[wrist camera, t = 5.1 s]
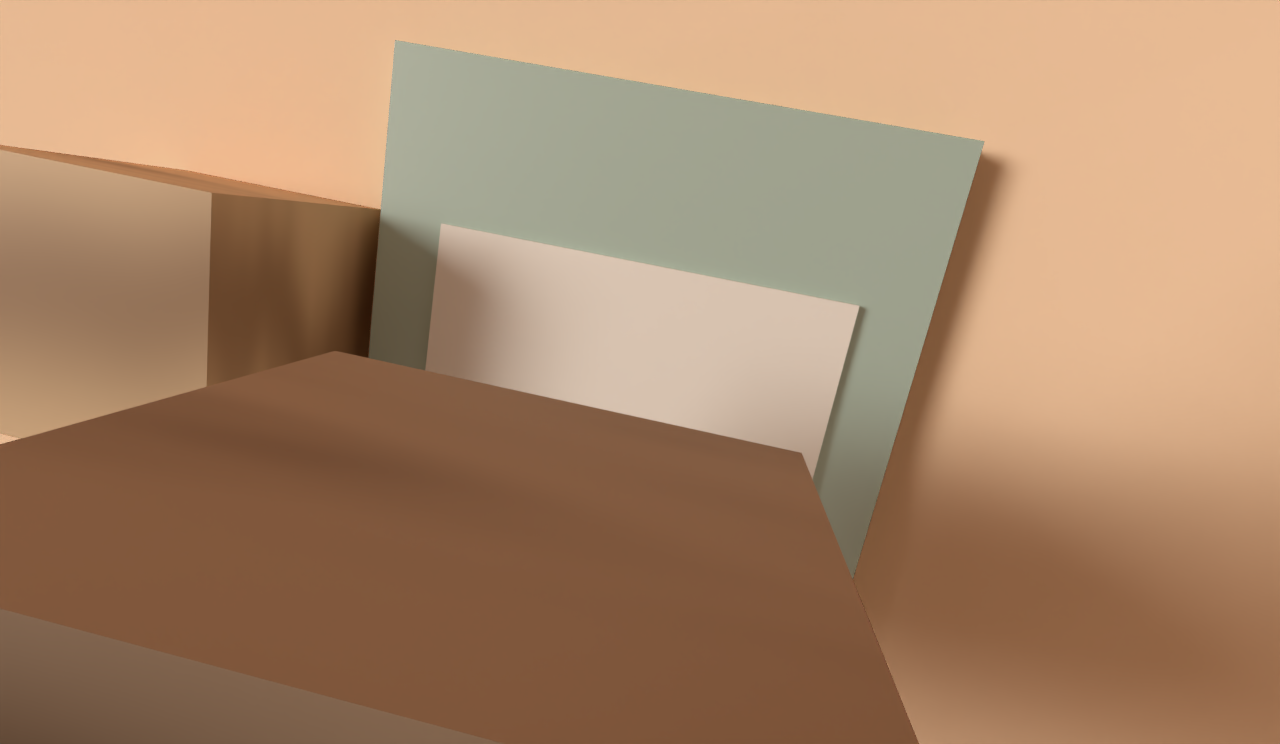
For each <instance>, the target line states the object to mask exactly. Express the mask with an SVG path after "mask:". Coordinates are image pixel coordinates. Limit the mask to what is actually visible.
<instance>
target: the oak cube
mask: <svg viewBox="0 0 1280 744" xmlns="http://www.w3.org/2000/svg"><path fill="white" fill-rule="evenodd" d="M380 212H381V210H380V209H375V208H370V207H365V206H361V205H356V204H351V203H346V202H341V201H336V200H331V199H326V198H321V197H316V196H311V195H306V194H301V193H296V192H291V191H286V190H281V189H276V188H271V187H266V186H261V185H256V184H251V183H246V182H241V181H236V180H231V179H226V178H221V177H216V176H211V175H207V174H202V173H197V172H192V171H186V170H179V169H172V168H164V167H157V166H150V165H142V164H135V163H128V162H120V161H113V160H106V159H98V158H91V157H84V156H76V155H69V154H62V153H54V152H47V151H40V150H32V149H25V148H18V147H10V146H3V145H0V434H4V435H8V436H12V437H16V438H20V439H22V438H25V437H29V436H32V435H36V434H40V433H43V432H47V431H50V430H54V429H57V428H61V427H65V426H68V425H72V424H75V423H79V422H82V421H86V420H90V419H93V418H97V417H100V416H104V415H107V414H111V413H115V412H118V411H122V410H125V409H129V408H132V407H136V406H140V405H143V404H147V403H150V402H154V401H157V400H161V399H165V398H168V397H172V396H175V395H179V394H182V393H186V392H190V391H193V390H197V389H200V388H204V387H208V386H211V385H215V384H218V383H222V382H225V381H229V380H233V379H236V378H240V377H243V376H247V375H250V374H254V373H258V372H261V371H265V370H268V369H272V368H275V367H279V366H283V365H286V364H290V363H293V362H297V361H300V360H304V359H308V358H311V357H315V356H318V355H322V354H325V353H329V352H333V351H338V352H343V353H347V354H352V355H357V356H361V357H366V358H368V348H369V337H370V325H371V314H372V303H373V291H374V280H375V269H376V257H377V246H378V235H379V223H380Z"/></svg>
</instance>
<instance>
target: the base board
mask: <svg viewBox="0 0 1280 744" xmlns="http://www.w3.org/2000/svg"><path fill="white" fill-rule="evenodd" d="M983 145H984V141H980V140H974V139H968V138H962V137H956V136H950V135H945V134H939V133H933V132H927V131H921V130H916V129H910V128H904V127H898V126H892V125H886V124H881V123H875V122H869V121H863V120H857V119H851V118H846V117H840V116H834V115H828V114H822V113H816V112H811V111H805V110H799V109H793V108H787V107H782V106H776V105H770V104H764V103H758V102H752V101H747V100H741V99H735V98H729V97H723V96H717V95H712V94H706V93H700V92H694V91H688V90H682V89H677V88H671V87H665V86H659V85H653V84H648V83H642V82H636V81H630V80H624V79H618V78H613V77H607V76H601V75H595V74H589V73H583V72H578V71H572V70H566V69H560V68H554V67H548V66H543V65H537V64H531V63H525V62H519V61H514V60H508V59H502V58H496V57H490V56H484V55H479V54H473V53H467V52H461V51H455V50H449V49H444V48H438V47H432V46H426V45H420V44H414V43H409V42H403V41H397V40H395V48H394V60H393V72H392V84H391V96H390V108H389V119H388V131H387V143H386V155H385V167H384V179H383V191H382V202H381V214H380V226H379V238H378V250H377V262H376V274H375V285H374V297H373V309H372V321H371V333H370V345H369V357H368V358H370V359H375V360H379V361H384V362H389V363H393V364H398V365H402V366H407V367H411V368H416V369H421V370H425V371H430V372H434V373H439V374H443V375H448V376H453V377H457V378H462V379H466V380H471V381H475V382H480V383H485V384H489V385H494V386H498V387H503V388H507V389H512V390H517V391H521V392H526V393H530V394H535V395H539V396H544V397H549V398H553V399H558V400H562V401H567V402H571V403H576V404H581V405H585V406H590V407H594V408H599V409H603V410H608V411H613V412H617V413H622V414H626V415H631V416H635V417H640V418H645V419H649V420H654V421H658V422H663V423H667V424H672V425H677V426H681V427H686V428H690V429H695V430H699V431H704V432H709V433H713V434H718V435H722V436H727V437H731V438H736V439H741V440H745V441H750V442H754V443H759V444H763V445H768V446H773V447H777V448H782V449H786V450H791V451H795V452H800V453H802V455H803V457H804V460H805V462H806V465H807V467H808V470H809V472H810V475H811V477H812V480H813V482H814V485H815V487H816V490H817V492H818V495H819V497H820V500H821V502H822V505H823V507H824V510H825V512H826V515H827V517H828V520H829V522H830V524H831V527H832V529H833V532H834V534H835V537H836V539H837V542H838V544H839V547H840V549H841V552H842V554H843V557H844V559H845V562H846V564H847V567H848V569H849V572H850V574H851V577H852V579H853V577H854V574H855V571H856V567H857V564H858V561H859V557H860V554H861V551H862V547H863V544H864V541H865V537H866V534H867V531H868V527H869V524H870V521H871V517H872V514H873V511H874V507H875V504H876V501H877V497H878V494H879V491H880V487H881V484H882V481H883V477H884V474H885V471H886V468H887V464H888V461H889V458H890V454H891V451H892V448H893V444H894V441H895V438H896V434H897V431H898V428H899V424H900V421H901V418H902V414H903V411H904V408H905V404H906V401H907V398H908V394H909V391H910V388H911V384H912V381H913V378H914V374H915V371H916V368H917V364H918V361H919V358H920V354H921V351H922V348H923V344H924V341H925V338H926V334H927V331H928V328H929V324H930V321H931V318H932V314H933V311H934V308H935V304H936V301H937V298H938V294H939V291H940V288H941V284H942V281H943V278H944V274H945V271H946V268H947V264H948V261H949V258H950V254H951V251H952V248H953V244H954V241H955V238H956V234H957V231H958V228H959V224H960V221H961V218H962V214H963V211H964V208H965V205H966V201H967V198H968V195H969V191H970V188H971V185H972V181H973V178H974V175H975V171H976V168H977V165H978V161H979V158H980V155H981V151H982V148H983Z"/></svg>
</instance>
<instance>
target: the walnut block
mask: <svg viewBox="0 0 1280 744" xmlns="http://www.w3.org/2000/svg"><path fill="white" fill-rule="evenodd" d="M0 744H919V743H918V740H917V738H916V735H915V733H914V730H913V728H912V725H911V723H910V720H909V718H908V716H907V713H906V711H905V708H904V706H903V703H902V701H901V698H900V696H899V693H898V691H897V688H896V686H895V683H894V681H893V678H892V676H891V673H890V671H889V668H888V666H887V663H886V661H885V658H884V656H883V653H882V651H881V649H880V646H879V644H878V641H877V639H876V636H875V634H874V631H873V629H872V626H871V624H870V621H869V619H868V616H867V614H866V611H865V609H864V606H863V604H862V601H861V599H860V596H859V594H858V591H857V589H856V587H855V584H854V582H853V579H852V577H851V574H850V572H849V569H848V567H847V564H846V562H845V559H844V557H843V554H842V552H841V549H840V547H839V544H838V542H837V539H836V537H835V534H834V532H833V529H832V527H831V524H830V522H829V520H828V517H827V515H826V512H825V510H824V507H823V505H822V502H821V500H820V497H819V495H818V492H817V490H816V487H815V485H814V482H813V480H812V477H811V475H810V472H809V470H808V467H807V465H806V462H805V460H804V457H803V455H802V453H800V452H795V451H791V450H786V449H782V448H777V447H773V446H768V445H763V444H759V443H754V442H750V441H745V440H741V439H736V438H731V437H727V436H722V435H718V434H713V433H709V432H704V431H699V430H695V429H690V428H686V427H681V426H677V425H672V424H667V423H663V422H658V421H654V420H649V419H645V418H640V417H635V416H631V415H626V414H622V413H617V412H613V411H608V410H603V409H599V408H594V407H590V406H585V405H581V404H576V403H571V402H567V401H562V400H558V399H553V398H549V397H544V396H539V395H535V394H530V393H526V392H521V391H517V390H512V389H507V388H503V387H498V386H494V385H489V384H485V383H480V382H475V381H471V380H466V379H462V378H457V377H453V376H448V375H443V374H439V373H434V372H430V371H425V370H421V369H416V368H411V367H407V366H402V365H398V364H393V363H389V362H384V361H379V360H375V359H370V358H366V357H361V356H357V355H352V354H347V353H343V352H338V351H333V352H329V353H325V354H322V355H318V356H315V357H311V358H308V359H304V360H300V361H297V362H293V363H290V364H286V365H283V366H279V367H275V368H272V369H268V370H265V371H261V372H258V373H254V374H250V375H247V376H243V377H240V378H236V379H233V380H229V381H225V382H222V383H218V384H215V385H211V386H208V387H204V388H200V389H197V390H193V391H190V392H186V393H182V394H179V395H175V396H172V397H168V398H165V399H161V400H157V401H154V402H150V403H147V404H143V405H140V406H136V407H132V408H129V409H125V410H122V411H118V412H115V413H111V414H107V415H104V416H100V417H97V418H93V419H90V420H86V421H82V422H79V423H75V424H72V425H68V426H65V427H61V428H57V429H54V430H50V431H47V432H43V433H40V434H36V435H32V436H29V437H25V438H22V439H18V440H15V441H11V442H7V443H4V444H0Z"/></svg>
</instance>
